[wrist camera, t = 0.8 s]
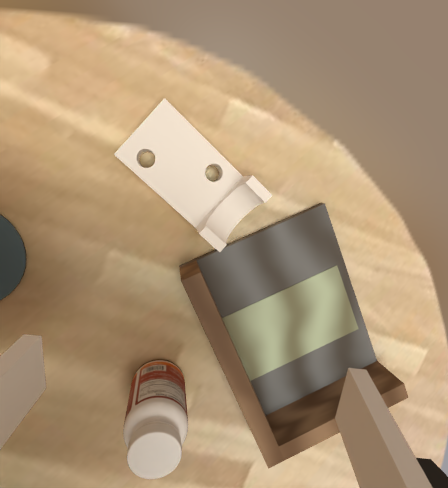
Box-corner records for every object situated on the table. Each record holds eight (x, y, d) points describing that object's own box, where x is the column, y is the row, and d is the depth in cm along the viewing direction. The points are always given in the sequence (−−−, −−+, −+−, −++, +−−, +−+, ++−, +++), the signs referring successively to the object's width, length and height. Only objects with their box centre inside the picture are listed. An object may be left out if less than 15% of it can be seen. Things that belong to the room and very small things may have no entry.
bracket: (252, 193, 37) (272, 195, 30) (209, 239, 37) (219, 252, 30) (165, 106, 34) (163, 85, 27) (119, 157, 34) (105, 149, 27)
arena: (255, 429, 42) (268, 468, 36) (179, 265, 37) (181, 280, 31) (376, 369, 44) (408, 397, 38) (320, 203, 38) (348, 206, 32)
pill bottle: (159, 414, 40) (156, 500, 29) (120, 385, 38) (101, 464, 27) (195, 378, 40) (204, 450, 29) (157, 347, 38) (152, 412, 27)
